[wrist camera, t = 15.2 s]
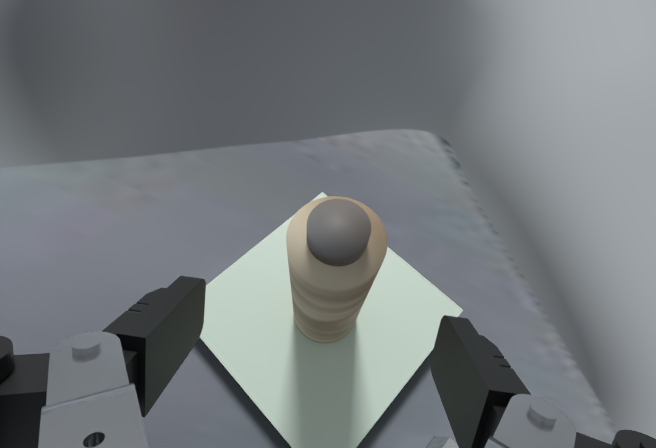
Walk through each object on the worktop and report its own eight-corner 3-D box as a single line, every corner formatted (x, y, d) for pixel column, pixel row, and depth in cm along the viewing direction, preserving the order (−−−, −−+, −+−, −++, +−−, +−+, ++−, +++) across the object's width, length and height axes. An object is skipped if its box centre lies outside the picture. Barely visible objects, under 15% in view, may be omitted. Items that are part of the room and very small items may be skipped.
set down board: (324, 484, 19) (325, 487, 18) (181, 313, 23) (176, 309, 22) (457, 314, 24) (463, 310, 23) (321, 199, 28) (322, 192, 27)
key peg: (325, 357, 21) (342, 300, 12) (280, 311, 22) (261, 225, 13) (368, 310, 23) (414, 226, 13) (324, 269, 24) (336, 165, 14)
